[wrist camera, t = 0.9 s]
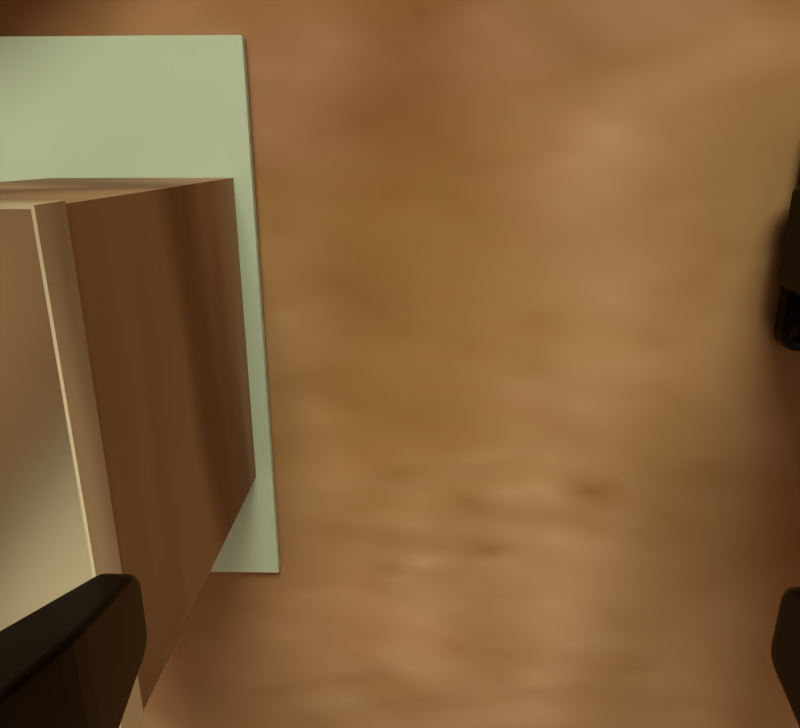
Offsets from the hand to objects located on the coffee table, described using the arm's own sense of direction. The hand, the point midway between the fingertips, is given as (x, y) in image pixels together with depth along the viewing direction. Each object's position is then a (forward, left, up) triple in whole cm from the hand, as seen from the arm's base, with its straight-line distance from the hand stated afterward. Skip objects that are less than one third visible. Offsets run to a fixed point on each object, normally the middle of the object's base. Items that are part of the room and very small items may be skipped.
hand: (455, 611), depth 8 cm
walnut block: (+8, 0, -12) cm, 14 cm away
